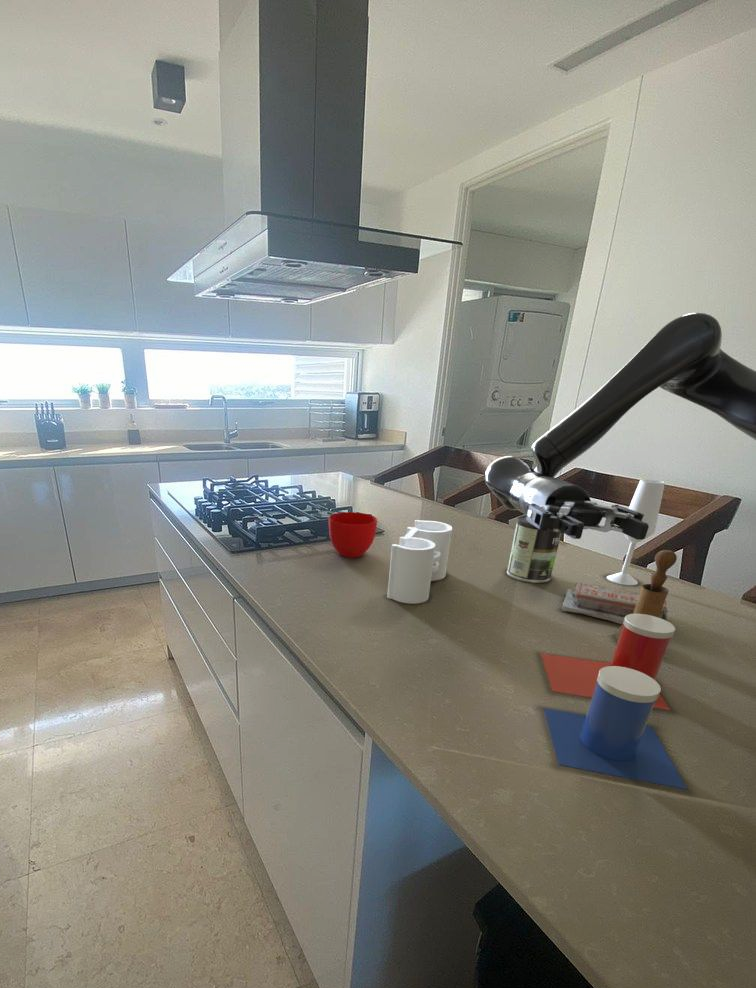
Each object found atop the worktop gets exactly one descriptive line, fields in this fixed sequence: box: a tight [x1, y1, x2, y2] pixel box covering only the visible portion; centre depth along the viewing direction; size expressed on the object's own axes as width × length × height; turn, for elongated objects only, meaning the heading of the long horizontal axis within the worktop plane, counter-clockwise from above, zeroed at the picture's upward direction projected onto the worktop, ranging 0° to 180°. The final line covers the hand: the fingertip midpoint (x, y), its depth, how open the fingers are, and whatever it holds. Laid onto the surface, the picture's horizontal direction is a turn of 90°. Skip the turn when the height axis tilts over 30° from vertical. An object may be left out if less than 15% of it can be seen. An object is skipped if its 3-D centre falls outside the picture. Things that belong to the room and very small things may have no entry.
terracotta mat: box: [540, 653, 671, 711], centre depth 78 cm, size 16×12×1 cm
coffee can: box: [506, 514, 562, 584], centre depth 118 cm, size 10×10×14 cm
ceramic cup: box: [328, 511, 378, 559], centre depth 133 cm, size 13×17×10 cm
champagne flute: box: [606, 478, 666, 586], centre depth 114 cm, size 7×7×24 cm
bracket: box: [386, 519, 453, 605], centre depth 112 cm, size 25×10×12 cm, turn 154°
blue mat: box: [543, 707, 689, 790], centre depth 64 cm, size 14×12×1 cm
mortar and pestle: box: [615, 549, 678, 641], centre depth 86 cm, size 7×6×18 cm
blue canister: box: [580, 666, 662, 761], centre depth 62 cm, size 7×7×10 cm
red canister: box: [610, 614, 676, 681], centre depth 77 cm, size 7×7×10 cm
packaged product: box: [562, 581, 669, 626], centre depth 101 cm, size 18×5×10 cm
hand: (612, 532), depth 64 cm, fingers open, 8 cm apart
